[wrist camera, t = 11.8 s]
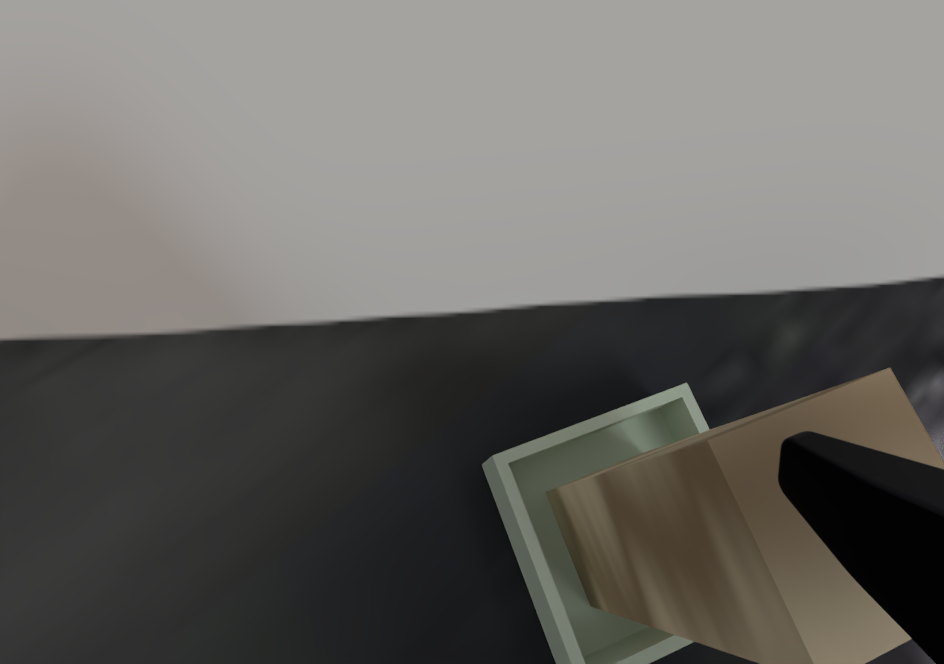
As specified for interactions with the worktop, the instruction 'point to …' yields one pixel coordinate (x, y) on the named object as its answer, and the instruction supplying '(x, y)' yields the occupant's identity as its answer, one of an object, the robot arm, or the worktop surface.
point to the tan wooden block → (738, 533)
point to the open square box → (541, 542)
